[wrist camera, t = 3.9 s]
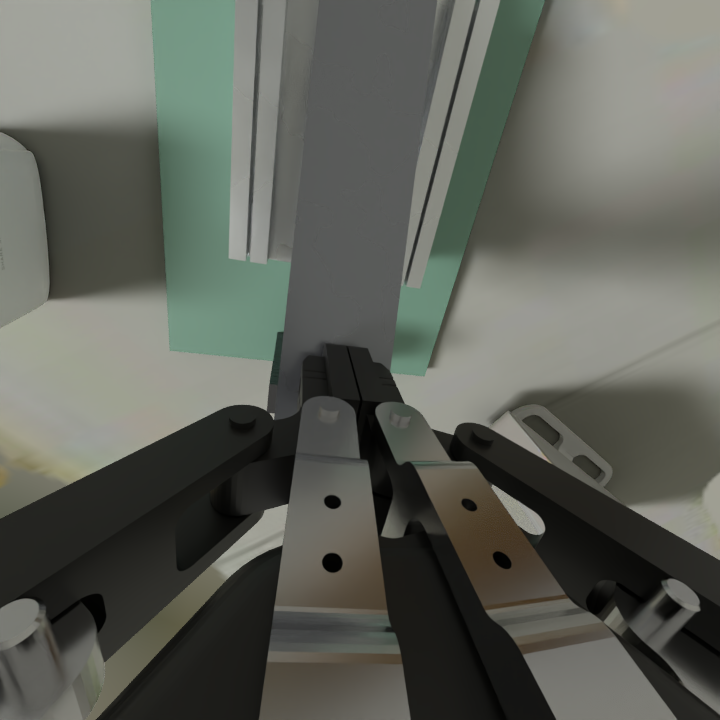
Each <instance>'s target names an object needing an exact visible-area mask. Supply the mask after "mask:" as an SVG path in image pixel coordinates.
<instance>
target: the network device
mask: <svg viewBox="0 0 720 720" xmlns="http://www.w3.org/2000/svg"><path fill="white" fill-rule="evenodd" d="M530 415H538V416H540V417H541V418H542V419H543V420H545V421H546V422H547V423H548V424H549V425H550V426H552V427H553V428H554V429H555V430H556V431H557V432H559V434H560V437H559V440H558V441H557V442H556V443H555V444H554V445H553V446H552V445H551V444H550V443H548V442H547V441H546V440H545V439H543V438H542V437H541V436H540V435H539V434H537V433H536V432H535V431H534V430H532V429H531V428H530V427H529V426H527V425H526V424H525V423H524V422H523V421H522V420H523V419H524V418H526V417H528V416H530ZM488 428H490V429H492V430H494V431H495V432H497V433H499V434H500V435H502V436H504V437H506V438H507V439H509V440H511V441H513V442H514V443H516V444H518V445H520V446H521V447H523V448H525V449H527V450H528V451H530V452H532V453H534V454H535V455H537V456H539V457H541V458H542V459H544V460H546V461H547V462H549V463H551V464H553V465H554V466H556V467H558V468H560V469H561V470H563V471H565V472H567V473H568V474H570V475H572V476H574V477H575V478H577V479H579V480H581V481H582V482H584V483H586V484H588V485H589V486H591V487H593V488H594V489H596V490H598V491H600V492H601V493H603V494H605V495H607V496H608V497H610V498H612V499H614V500H615V501H617V502H619V503H621V504H622V505H624V504H623V503H622V502H621V501H620V500H619V499H617V498H616V497H615V496H614V495H612V494H611V493H610V492H609V491H607V490H606V489H605V488H604V486H605V485H606V484H607V483H608V482H609V480H610V479H611V477H612V473H613V470H612V467H611V466H610V465H609V464H608V463H607V462H606V461H605V460H604V459H603V458H602V457H601V456H600V455H598V454H597V453H596V452H595V451H594V450H593V449H592V448H590V447H589V446H588V445H587V444H586V443H585V442H584V441H583V440H581V439H580V438H579V437H578V436H577V435H576V434H575V433H574V432H572V431H571V430H570V429H569V428H568V427H567V426H566V425H564V424H563V423H562V422H561V421H560V420H559V419H558V418H557V417H555V416H554V415H553V414H552V413H551V412H550V411H549V410H547V409H546V408H545V407H543V406H541V405H537V404H530V405H524V406H521V407H519V408H517V409H515V410H513V411H512V412H510V411H507V412H506V413H505V414H503V415H502V416H501V417H500V418H499V419H498V420H497V421H495V422H494V423H493V424H492V425H491V426H490V427H488ZM579 455H585V456H587V457H588V458H589V459H590V460H591V461H593V462H594V463H595V464H596V465H597V466H598V467H600V468H601V469H602V472H601V474H600V475H599V477H597V478H596V479H595V480H594V479H593V478H591V477H590V476H589V475H588V474H587V473H585V472H584V471H583V470H582V469H580V468H579V467H578V466H577V465H575V464H574V463H573V462H572V460H573V458H574V457H576V456H579ZM516 501H517V500H516ZM517 502H518V504H519V505H520V507H521V508H522V510H523V511H524V513H525V515H526V516H527V518H528V519H529V521H530V522H531V524H532V525H533V527H534V529H535V530H536V532H537V533H538V535H540V534H542V533H543V532H544V531H545V525H544V523H543V521H542V519H541V518H540V516H539V515H538V514H537V513H535V512H534V511H532V510H531V509H529V508H528V507H526V506H525V505H523V504H522V503H520V502H519V501H517ZM624 506H625V505H624Z"/></svg>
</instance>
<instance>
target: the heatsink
mask: <svg viewBox="0 0 720 720" xmlns="http://www.w3.org/2000/svg"><path fill="white" fill-rule="evenodd" d="M499 3H500V0H437V7H436V15H435V23H434V31H433V39H432V47H431V55H430V62H429V70H428V78H427V86H426V94H425V102H424V110H423V117H422V125H421V133H420V141H419V149H418V157H417V165H416V173H415V180H414V188H413V196H412V204H411V212H410V220H409V228H408V235H407V243H406V251H405V259H404V267H403V275H402V283H401V286H403V284H405V286H406V287H412V288H419V289H420V287H421V284H422V280H423V276H424V273H425V269H426V266H427V262H428V258H429V255H430V251H431V248H432V244H433V240H434V237H435V233H436V230H437V226H438V222H439V219H440V215H441V212H442V208H443V205H444V201H445V197H446V194H447V190H448V187H449V183H450V179H451V176H452V172H453V169H454V165H455V161H456V158H457V154H458V151H459V147H460V143H461V140H462V136H463V133H464V129H465V125H466V122H467V118H468V115H469V111H470V108H471V104H472V100H473V97H474V93H475V90H476V86H477V82H478V79H479V75H480V72H481V68H482V64H483V61H484V57H485V54H486V50H487V46H488V43H489V39H490V36H491V32H492V28H493V25H494V21H495V18H496V14H497V10H498V7H499ZM318 6H319V0H235V32H234V70H233V109H232V148H231V186H230V225H229V259H235V260H241V261H246V260H247V258H248V257H249V256H250V262H254V263H260V264H267V262H268V259H271V260H277V261H284V262H290V263H291V258H292V249H293V240H294V230H295V221H296V212H297V202H298V193H299V183H300V174H301V165H302V155H303V146H304V137H305V127H306V118H307V109H308V99H309V90H310V81H311V71H312V62H313V52H314V43H315V34H316V24H317V15H318ZM282 343H283V333H282V332H277V339H276V345H275V352H274V358H273V365H272V371H271V378H270V384H269V395H268V406H267V412H268V413H275V408H276V399H277V389H278V380H279V371H280V361H281V352H282Z"/></svg>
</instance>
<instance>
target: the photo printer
mask: <svg viewBox="0 0 720 720" xmlns="http://www.w3.org/2000/svg"><path fill="white" fill-rule="evenodd" d="M49 286H50V278H49V260H48V246H47V235H46V223H45V215H44V208H43V199H42V191H41V184H40V177H39V172H38V168H37V163H36V160H35V157H34V155H33V153H32V152H31V151H27V150H26V148H25V147H24V146H23V145H21V144H20V143H19V142H17V141H16V140H15V139H13V138H12V137H10V136H8V135H6V134H4V133H1V132H0V328H1V327H3V326H5V325H7V324H9V323H11V322H13V321H14V320H16V319H18V318H20V317H22V316H23V315H25V314H27V313H29V312H31V311H32V310H34V309H36V308H38V307H39V306H41V305H43V304H44V303H45V302H46V301H47V299H48V295H49Z"/></svg>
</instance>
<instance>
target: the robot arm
mask: <svg viewBox="0 0 720 720" xmlns="http://www.w3.org/2000/svg"><path fill="white" fill-rule="evenodd" d="M492 485H495V486H496V487H498V488H499V489H501V490H502V491H504V492H505V493H507V494H508V495H510V496H511V497H513V498H514V499H516V500H517V501H519V502H520V503H522V504H523V505H525V506H526V507H528V508H529V509H531V510H532V511H534V512H535V513H537V514H538V515H539V516H540V518H541V519H542V521H543V523H544V525H545V531H544V532H543V533H542V534H540V535H533V534H530V533H528V532H526V531H525V530H523V529H522V528H521V527H519V526H518V525H517V524H516V522H515V521H514V519H513V518H512V517H511V515H510V514H509V512H508V511H507V509H506V508H505V507H504V505H503V504H502V502H501V501H500V499H499V498H498V497H497V495H496V494H495V492H494V491H493V489H492V488H491V487H492ZM285 504H288V511H287V518H286V525H285V532H284V539H283V545H282V546H279V547H277V548H274V549H271V550H269V551H267V552H265V553H263V554H261V555H259V556H257V557H256V558H254V559H252V560H251V561H249V562H248V563H246V564H245V565H244V566H242V567H241V568H240V569H239V570H237V571H236V572H235V573H234V574H233V575H231V576H230V577H229V578H228V579H227V580H226V582H225V583H223V585H222V586H221V587H220V588H219V589H218V590H217V591H216V592H215V593H214V594H213V595H212V596H211V597H210V599H209V600H208V601H207V602H206V603H205V604H204V605H203V606H202V607H201V608H200V609H199V610H198V611H197V612H196V613H195V614H194V616H193V617H192V618H191V619H190V620H189V621H188V622H187V623H186V624H185V625H184V626H183V627H182V628H181V629H180V630H179V632H178V633H177V634H176V635H175V636H174V637H173V638H172V639H171V640H170V641H169V642H168V643H167V644H166V646H165V647H164V648H163V649H162V650H161V651H160V652H159V653H158V654H157V655H156V656H155V657H154V658H153V659H152V660H151V661H150V663H149V664H148V665H147V666H146V667H145V668H144V669H143V670H142V671H141V672H140V673H139V674H138V676H136V678H135V679H134V680H133V681H132V682H131V683H130V684H129V685H128V686H127V687H126V688H125V689H124V690H123V691H122V692H121V693H120V695H119V696H118V697H117V698H116V699H115V700H114V701H113V702H112V703H111V704H110V705H109V706H108V707H107V708H106V709H105V711H104V712H103V713H102V714H101V715H100V716H99V717H98V718H97V719H96V720H720V560H718V559H716V558H715V557H713V556H711V555H709V554H708V553H706V552H704V551H702V550H701V549H699V548H697V547H695V546H694V545H692V544H690V543H689V542H687V541H685V540H683V539H682V538H680V537H678V536H676V535H675V534H673V533H671V532H669V531H668V530H666V529H664V528H662V527H661V526H659V525H657V524H655V523H654V522H652V521H650V520H648V519H647V518H645V517H643V516H641V515H640V514H638V513H636V512H635V511H633V510H631V509H629V508H628V507H626V506H624V505H622V504H621V503H619V502H617V501H615V500H614V499H612V498H610V497H608V496H607V495H605V494H603V493H601V492H600V491H598V490H596V489H594V488H593V487H591V486H589V485H588V484H586V483H584V482H582V481H581V480H579V479H577V478H575V477H574V476H572V475H570V474H568V473H567V472H565V471H563V470H561V469H560V468H558V467H556V466H554V465H553V464H551V463H549V462H547V461H546V460H544V459H542V458H541V457H539V456H537V455H535V454H534V453H532V452H530V451H528V450H527V449H525V448H523V447H521V446H520V445H518V444H516V443H514V442H513V441H511V440H509V439H507V438H506V437H504V436H502V435H500V434H499V433H497V432H495V431H494V430H492V429H490V428H488V427H485V426H483V425H480V424H476V423H462V424H460V425H458V426H457V428H456V430H455V433H454V435H451V434H447V433H444V432H440V431H436V430H433V429H431V428H430V426H429V425H428V423H427V421H426V420H425V418H424V417H423V415H422V414H421V413H420V412H419V411H418V410H416V409H415V408H413V407H411V406H409V405H406V404H405V403H404V401H403V399H402V397H401V395H400V392H399V390H398V388H397V387H396V384H395V381H394V380H393V377H392V375H391V373H390V370H388V369H387V368H386V367H385V366H384V365H383V364H381V363H377V362H373V360H372V358H371V355H370V353H369V350H368V348H363V347H355V346H346V345H337V344H329V343H325V344H324V348H323V354H322V356H313V355H308V356H307V357H306V358H305V359H304V360H303V362H302V369H301V376H300V384H299V391H298V398H297V413H296V414H294V415H293V416H290V417H288V418H284V419H279V420H273V418H272V416H271V415H270V414H269V413H268V412H267V411H265V410H264V409H262V408H259V407H256V406H251V405H234V406H229V407H226V408H223V409H221V410H219V411H217V412H215V413H213V414H211V415H209V416H207V417H205V418H203V419H201V420H199V421H197V422H195V423H193V424H191V425H189V426H187V427H185V428H183V429H181V430H179V431H177V432H175V433H173V434H171V435H168V436H166V437H164V438H162V439H160V440H158V441H156V442H154V443H152V444H150V445H148V446H146V447H144V448H142V449H140V450H138V451H136V452H134V453H132V454H130V455H128V456H126V457H124V458H122V459H120V460H118V461H116V462H114V463H112V464H110V465H108V466H106V467H104V468H102V469H100V470H98V471H96V472H94V473H92V474H90V475H88V476H86V477H84V478H82V479H80V480H78V481H76V482H74V483H72V484H70V485H68V486H66V487H64V488H62V489H59V490H57V491H56V492H54V493H51V494H49V495H47V496H45V497H43V498H41V499H39V500H37V501H35V502H33V503H31V504H30V505H27V506H25V507H23V508H21V509H19V510H17V511H15V512H13V513H11V514H9V515H7V516H5V517H3V518H1V519H0V720H85V719H86V718H87V717H88V715H89V714H90V712H91V711H92V709H93V707H94V705H95V704H96V702H97V700H98V697H99V695H100V692H101V690H102V686H103V682H104V676H105V675H104V674H105V666H104V662H106V661H107V660H108V659H109V658H110V657H111V656H112V655H113V654H114V653H115V652H116V651H117V650H119V649H120V648H121V647H122V646H123V645H124V644H125V643H126V642H127V641H128V640H130V639H131V638H132V637H133V636H134V635H135V634H136V633H137V632H138V631H139V630H140V629H142V628H143V627H144V626H145V625H146V624H147V623H148V622H149V621H150V620H151V619H152V618H154V617H155V616H156V615H157V614H158V613H159V612H160V611H161V610H162V609H163V608H164V607H166V606H167V605H168V604H169V603H170V602H171V601H172V600H173V599H174V598H175V597H176V596H177V595H179V594H180V593H181V592H182V591H183V590H184V589H185V588H186V587H187V586H188V585H190V584H191V583H192V582H193V581H194V580H195V579H196V578H197V577H198V576H199V575H200V574H201V573H203V572H204V571H205V570H206V569H207V568H208V567H209V566H210V565H211V564H212V563H214V562H215V561H216V560H217V559H218V558H219V557H220V556H221V555H222V554H223V553H224V552H226V551H227V550H228V549H229V548H230V547H231V546H232V545H233V544H234V543H235V542H236V541H238V540H239V539H240V538H241V537H242V536H243V535H244V534H245V533H246V532H247V531H248V530H250V529H251V528H252V527H253V526H254V525H255V524H256V523H257V522H258V521H259V520H260V519H261V517H262V516H263V513H264V510H267V509H270V508H274V507H278V506H282V505H285Z"/></svg>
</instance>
